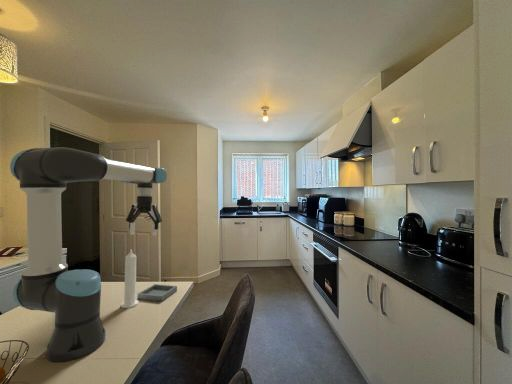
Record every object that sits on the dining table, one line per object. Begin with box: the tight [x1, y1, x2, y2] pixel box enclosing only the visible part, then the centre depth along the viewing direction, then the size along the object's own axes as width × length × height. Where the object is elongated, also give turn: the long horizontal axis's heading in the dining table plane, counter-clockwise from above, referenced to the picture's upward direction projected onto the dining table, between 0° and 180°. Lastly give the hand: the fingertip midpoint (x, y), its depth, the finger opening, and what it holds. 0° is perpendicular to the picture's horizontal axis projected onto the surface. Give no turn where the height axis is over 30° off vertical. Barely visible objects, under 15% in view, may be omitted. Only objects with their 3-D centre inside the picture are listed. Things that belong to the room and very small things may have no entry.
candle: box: [120, 248, 140, 309], centre depth 105 cm, size 7×7×25 cm
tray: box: [136, 283, 178, 302], centre depth 115 cm, size 13×13×2 cm
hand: (143, 235), depth 124 cm, fingers open, 13 cm apart
